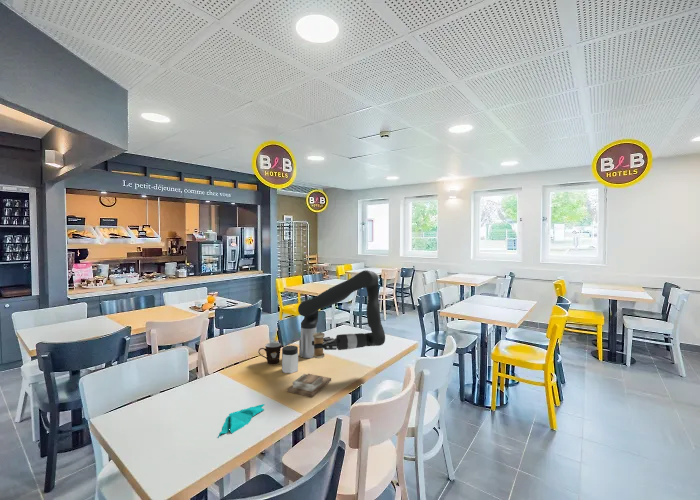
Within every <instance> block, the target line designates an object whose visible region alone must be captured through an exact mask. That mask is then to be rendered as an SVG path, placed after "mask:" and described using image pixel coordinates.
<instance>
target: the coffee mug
mask: <svg viewBox="0 0 700 500" xmlns="http://www.w3.org/2000/svg"><path fill="white" fill-rule="evenodd" d="M264 346H265V348H264V347H261V348H259V349H258V355H260V356H261V357H262V358H264V359H266V363H267V364H268V365H277V364H279V363H280V357H281V351H282V349H281V348H282V343H281V342H268V343H266V344H265V345H264ZM261 350H264V351H265V353H266V354H265V355H266V356H264V355H263V354H261V353H260V351H261Z"/></svg>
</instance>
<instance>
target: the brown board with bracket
mask: <svg viewBox="0 0 700 500" xmlns="http://www.w3.org/2000/svg"><path fill="white" fill-rule="evenodd" d="M331 381H332V377H328V376H323V375H317V374H313V373H312V374H311V373H307V374H305V373H303V374H302V375H301V376H299V377H298V378H296V379H295V380H294V381H292V385H291V386H290V387H288V388H287V390H286V391H287V393H292V394H296V395H301V396H305V397H309V398H313V397H315V396H316V395H317V394H318V393H319V392H320V391H321V390H322V389H324V388H325V387H326V386H327V385H328V384H329V383H330V382H331Z"/></svg>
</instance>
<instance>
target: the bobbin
mask: <svg viewBox="0 0 700 500" xmlns="http://www.w3.org/2000/svg"><path fill="white" fill-rule="evenodd" d="M313 337H314V344H319V343H323V338H325V333H323V332H316V333H314V334H313ZM324 357H325V353H324V349H322V348H319V349H314V354H313V358H314V359H324Z"/></svg>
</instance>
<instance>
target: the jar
mask: <svg viewBox="0 0 700 500" xmlns="http://www.w3.org/2000/svg"><path fill="white" fill-rule="evenodd" d="M281 348H282V349H281V369H282V373H285V374H293V373H296V372H298V371H299V346H296V345H291V344H290V345H286V346H285V345H284V346H283V347H281Z"/></svg>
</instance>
